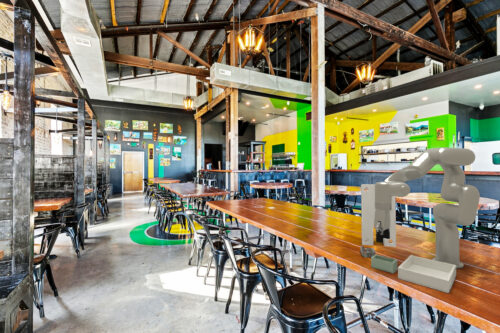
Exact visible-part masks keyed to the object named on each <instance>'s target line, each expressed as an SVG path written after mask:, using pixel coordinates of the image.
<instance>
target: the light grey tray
mask: <svg viewBox="0 0 500 333" xmlns="http://www.w3.org/2000/svg"><path fill="white" fill-rule="evenodd" d="M456 277H457V268H456V265H453V264H448V263H444V262H439V261H435V260H432V259H429V258H425V257H420V256H418V255H413V254H409V256H408V257H407V258H406V259H405V260H404V261H403V262H402V263H401V264H400V265H398V266H397V278H398V279H399V280H402V281H406V282H409V283H413V284H416V285H420V286H423V287H426V288H430V289H432V290H435V291H440V292H443V293H446V294H449V293H450V291H451V290H452V287H453V285H454V283H455V280H456Z"/></svg>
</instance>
